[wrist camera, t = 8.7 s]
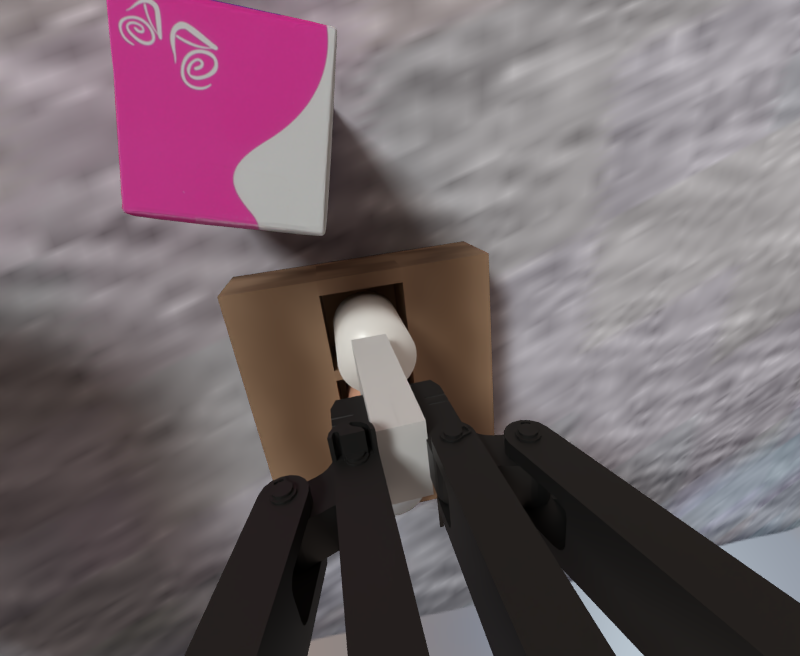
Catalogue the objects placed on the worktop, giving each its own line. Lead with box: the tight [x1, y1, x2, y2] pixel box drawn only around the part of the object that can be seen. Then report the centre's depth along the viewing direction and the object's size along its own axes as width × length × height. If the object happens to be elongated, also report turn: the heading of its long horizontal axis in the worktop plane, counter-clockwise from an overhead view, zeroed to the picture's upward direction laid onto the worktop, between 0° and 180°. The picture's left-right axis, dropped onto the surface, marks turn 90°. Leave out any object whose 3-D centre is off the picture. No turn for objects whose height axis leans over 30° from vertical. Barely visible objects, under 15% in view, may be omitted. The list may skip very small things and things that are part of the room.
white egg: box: [333, 291, 417, 391], centre depth 20 cm, size 4×4×5 cm
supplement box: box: [107, 0, 337, 236], centre depth 16 cm, size 6×6×12 cm
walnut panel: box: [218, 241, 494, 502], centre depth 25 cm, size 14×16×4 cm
